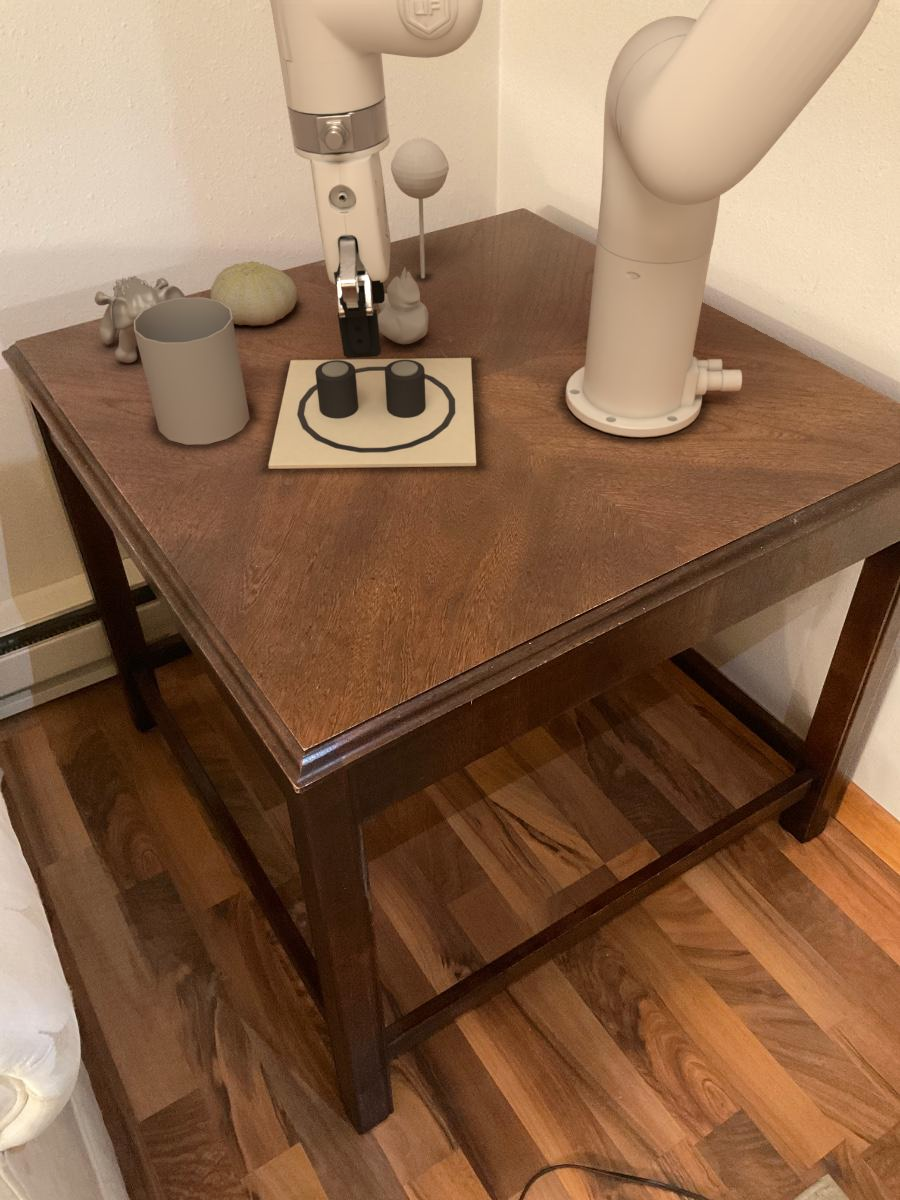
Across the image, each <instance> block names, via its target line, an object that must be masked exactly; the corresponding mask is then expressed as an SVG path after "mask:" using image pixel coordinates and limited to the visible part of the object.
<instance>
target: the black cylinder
mask: <svg viewBox="0 0 900 1200" xmlns="http://www.w3.org/2000/svg"><path fill="white" fill-rule="evenodd" d="M385 384H386V400H387V410H388V412H389V413H390V414H392V415H393V416H396V417H400V418H411V417H415V416H418V415H420V414H421V413H423V412H424V410H425V408H426V402H425V370H424V367H423V365H422V364H421V363H419V362H417V361H413V360H398V361H394V362H392V363H390V364H388V365H387V366H386V368H385Z"/></svg>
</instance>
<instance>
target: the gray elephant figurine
mask: <svg viewBox="0 0 900 1200" xmlns="http://www.w3.org/2000/svg"><path fill="white" fill-rule="evenodd" d="M112 290H113V291H114V292H113V296H110V295H107V294H105V293H104V292H103V291H96V293H95V296H94V302H95V303H96V305H98V306H106V305H107V307H106V309H105V312H104V314H103V316H102V319H101V322H100V326H99V329H98V334H99V338H100V341H102V343H104V344H105V345H110V344H112V343H114V341H115V338H116V333H117V331H118V330H119V333H118V346H117V348H116V349H115V350H114V351H115V352H114V357H115V359H116V360H117V361H118V362H120V363H121V362H122V363H126V364H131V363H134V362H135V361H136V360H137V359H138V352H137V348H138V344H137V340H136V336H135V332H134V320H135V319H136V318H137V316H138V315H139V314H140V313H141V312H142V311H143V310H145V309H147V308H149V307H151V306H153V305H155V304H157V303H160V302H164V301H168V300H173V299H177V298H187V297H186V295H185V293H184V292H183V291H182V290H181V289H180V288H179V287H177V286H175V285H169V282H168V280H166V279H165V278H164V277H161V278H157V280H156V283H155V286H154V287H153V286H152V285H150V284H149V283H148V282H147V281H146V280H145V279H141V278H138V277H137V276H136V275H133V276H128V278H127V279H126V278H125V277H122V278H121V279H116V280H115V286H113V287H112Z"/></svg>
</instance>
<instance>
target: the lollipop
mask: <svg viewBox="0 0 900 1200" xmlns="http://www.w3.org/2000/svg"><path fill="white" fill-rule="evenodd" d="M449 170H450V165H449V161H448V159H447V157H446V155H445V153H444V151H443V150H442V148H441V147H440V146H439V145H438V144H437V143H435V142H434V141H433V140H430V139H427V138H421V137H418V138H412V139H410V140H407V141H405V142H404V143H403V144H402V145H400V146H399V148H398V149H397V150H396V151H395V154H394V156H393V159H392V160H391V163H390V171H391V174H392V177H393V180H394V182H395V184H396V186H397V188H398V189H399V190H400V192H402V193H403V194H404V195H406V196H408V197H410V198H413V199H415V200H416V199H417V200H418V222H419V225H418V226H419V227H418V228H419V259H420V278H421V279H425V278H426V271H425V270H426V266H425V265H426V263H425V261H426V260H425V228H424V225H425V223H424V222H425V221H424V199H428V198H431V197H433V196H434V195H436V194H437V193H439V191H440V190H441V189H442V188H443V187H444V184H445V183H446V180H447V176H448V174H449Z"/></svg>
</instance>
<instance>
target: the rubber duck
mask: <svg viewBox="0 0 900 1200" xmlns="http://www.w3.org/2000/svg"><path fill="white" fill-rule="evenodd" d="M406 268H407V267H406V266H404V267H403V269H402V272H401V275H400V277H399V276H398V275H395V276H394V277H393V279H392V280H391V281H390V282H389V284H388V286H387V287H386V288H387V289H386V291H387V293H386V292H385V293H384V294H385V300H384V302H383V303H377V305H378V308H379V314H377V317H378V326H379V334H381V336H384V337H385V338H387V339H388V340H390V341H392V342H394V343H396V344H399V345H410V344H413V343H415V342H418V341H419V340H421V339H422V338H424V337H425V336H426V335H427V333H428V329H429V321H430V317H429V316H430V315H429V312H428V308H427V306H426V305H425V304H424V303H422V302H421V293H420V289H419V285H418V283H417V282H416V281H415V279H414V278H413V275H412V274H411V272H410V271H407V269H406Z"/></svg>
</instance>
